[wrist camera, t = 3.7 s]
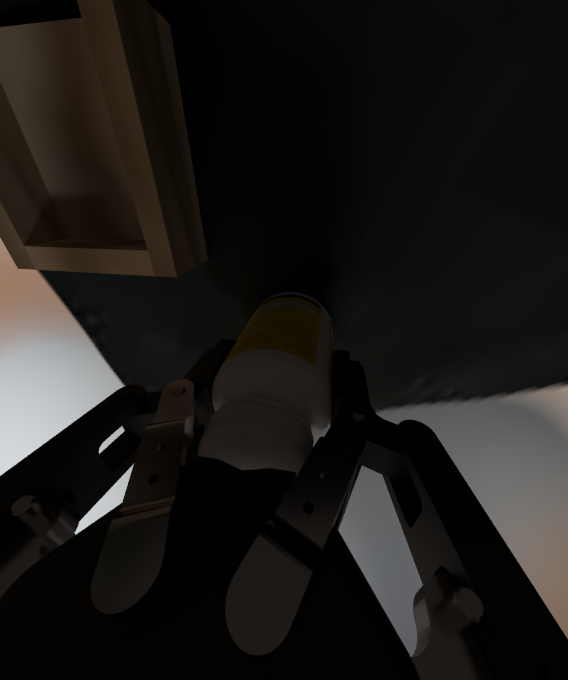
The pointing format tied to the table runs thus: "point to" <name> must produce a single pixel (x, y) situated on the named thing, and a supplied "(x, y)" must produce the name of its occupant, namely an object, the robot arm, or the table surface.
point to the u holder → (96, 146)
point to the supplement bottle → (274, 387)
